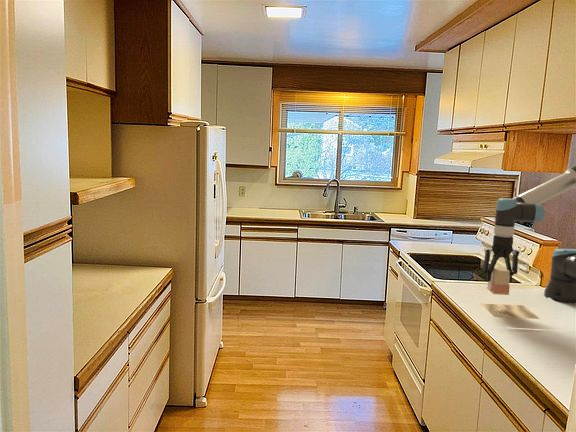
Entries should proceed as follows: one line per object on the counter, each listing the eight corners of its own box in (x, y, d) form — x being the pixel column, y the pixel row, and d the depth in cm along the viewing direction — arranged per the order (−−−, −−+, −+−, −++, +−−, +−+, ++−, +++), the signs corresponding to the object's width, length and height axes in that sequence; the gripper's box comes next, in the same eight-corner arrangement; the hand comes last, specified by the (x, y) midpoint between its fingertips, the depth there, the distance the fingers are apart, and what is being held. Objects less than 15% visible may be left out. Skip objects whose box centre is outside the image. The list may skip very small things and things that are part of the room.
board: (523, 306, 208) (523, 305, 207) (539, 319, 192) (540, 318, 192) (481, 304, 209) (481, 303, 209) (493, 317, 193) (494, 316, 193)
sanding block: (501, 289, 206) (504, 266, 205) (509, 295, 198) (511, 271, 197) (487, 288, 207) (489, 265, 205) (493, 294, 198) (496, 270, 197)
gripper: (523, 234, 202) (517, 287, 205) (477, 232, 203) (472, 285, 206) (530, 238, 194) (524, 293, 198) (483, 236, 196) (477, 290, 199)
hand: (498, 289), depth 202 cm, fingers closed on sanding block, 6 cm apart
